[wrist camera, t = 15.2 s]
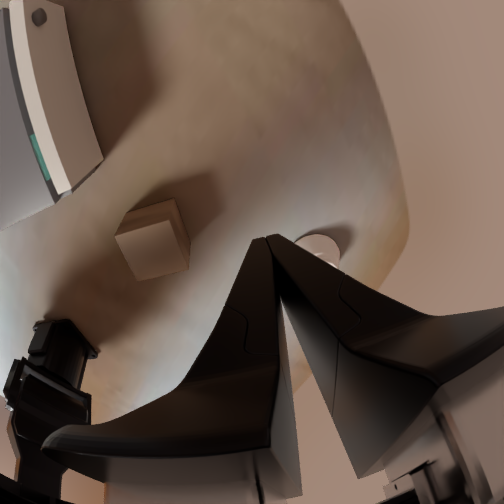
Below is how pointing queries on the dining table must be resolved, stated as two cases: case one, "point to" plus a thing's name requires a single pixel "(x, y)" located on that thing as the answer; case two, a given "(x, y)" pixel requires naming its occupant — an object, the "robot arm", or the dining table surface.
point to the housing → (20, 145)
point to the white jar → (321, 248)
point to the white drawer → (53, 91)
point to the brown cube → (154, 241)
